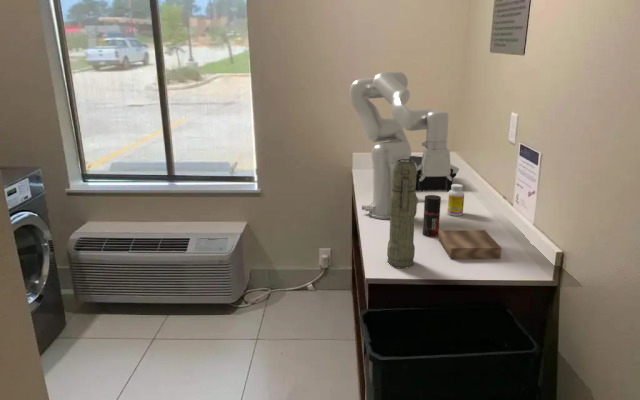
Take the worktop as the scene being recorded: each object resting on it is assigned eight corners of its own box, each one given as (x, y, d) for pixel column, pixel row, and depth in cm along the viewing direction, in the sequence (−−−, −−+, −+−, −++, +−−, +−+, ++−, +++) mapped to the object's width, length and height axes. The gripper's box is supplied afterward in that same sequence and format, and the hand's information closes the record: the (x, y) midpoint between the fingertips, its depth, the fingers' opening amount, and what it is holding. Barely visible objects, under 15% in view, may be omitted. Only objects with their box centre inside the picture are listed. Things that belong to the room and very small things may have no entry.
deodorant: (429, 238, 185) (431, 200, 181) (419, 233, 190) (421, 196, 186) (441, 235, 188) (444, 198, 183) (431, 230, 193) (433, 194, 188)
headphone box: (377, 178, 272) (378, 153, 267) (440, 178, 271) (442, 152, 267) (383, 191, 248) (384, 163, 244) (452, 190, 248) (454, 162, 244)
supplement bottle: (463, 216, 208) (465, 187, 204) (447, 216, 209) (449, 187, 206) (462, 212, 214) (464, 183, 211) (446, 211, 216) (448, 183, 212)
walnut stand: (450, 259, 166) (451, 248, 165) (438, 240, 183) (439, 230, 182) (500, 258, 167) (501, 247, 165) (483, 240, 183) (484, 230, 182)
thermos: (390, 270, 158) (394, 165, 148) (384, 256, 169) (387, 157, 159) (417, 269, 159) (423, 164, 148) (409, 255, 170) (414, 156, 160)
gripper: (414, 147, 175) (413, 193, 180) (463, 146, 175) (460, 192, 180) (410, 144, 182) (409, 188, 187) (457, 143, 182) (454, 187, 187)
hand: (434, 190), depth 183 cm, fingers open, 9 cm apart
